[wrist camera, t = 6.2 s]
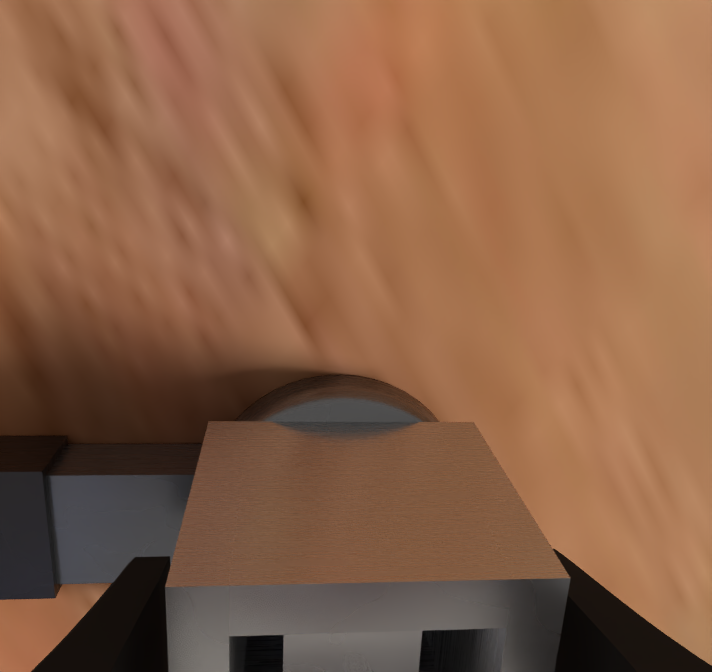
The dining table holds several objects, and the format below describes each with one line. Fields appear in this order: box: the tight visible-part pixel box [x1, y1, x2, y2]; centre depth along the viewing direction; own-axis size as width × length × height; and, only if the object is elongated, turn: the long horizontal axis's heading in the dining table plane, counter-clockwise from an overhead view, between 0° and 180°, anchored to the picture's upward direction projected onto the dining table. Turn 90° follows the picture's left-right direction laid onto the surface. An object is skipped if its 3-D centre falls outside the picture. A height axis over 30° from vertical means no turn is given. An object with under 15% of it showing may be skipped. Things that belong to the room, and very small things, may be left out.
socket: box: [165, 421, 570, 672], centre depth 12 cm, size 5×5×5 cm
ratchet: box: [0, 375, 439, 672], centre depth 13 cm, size 14×6×5 cm, turn 87°
